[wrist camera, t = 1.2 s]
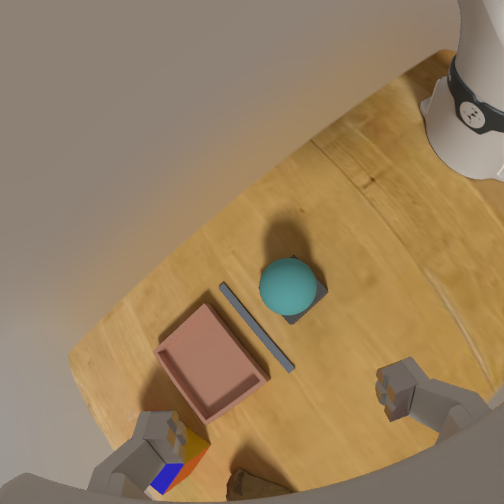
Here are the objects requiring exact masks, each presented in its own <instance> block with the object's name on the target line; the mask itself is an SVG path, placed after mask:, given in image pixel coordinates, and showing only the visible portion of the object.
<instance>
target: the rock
mask: <svg viewBox="0 0 504 504" xmlns="http://www.w3.org/2000/svg"><path fill="white" fill-rule="evenodd" d="M286 494H292V492H290V491H289V490H287V488H284V487H281V486H279V485H277V484H275V483H272V482H269V481H265V480H262V479H261V478H258V477H254V476H251V475H250V474H248V473H246V472H245V471H244V470H241V469H237V470H236V471H235V472H234V473H233V474H232V475H231V476H230V478H229V481H228V483H227V495H226V499H227V501H240V500H250V499H259V498H267V497H274V496H280V495H286Z"/></svg>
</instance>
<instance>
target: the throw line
mask: <svg viewBox="0 0 504 504" xmlns="http://www.w3.org/2000/svg"><path fill="white" fill-rule="evenodd" d="M219 289H220V290H221V292H222V293H223V294H224V296H225V297H226V298H227V299H228V301H229V302H230V303H231V304H232V306H233V307H234V308H235V309H236V311H237V312H238V313H239V314H240V315H241V317H242V318H243V319H244V320H245V322H246V323H247V324H248V325H249V326H250V328H251V329H252V330H253V331H254V333H255V334H256V335H257V336H258V337H259V339H260V340H261V341H262V342H263V343H264V345H265V346H266V347H267V348H268V349H269V351H270V352H271V353H272V354H273V355H274V356H275V358H276V359H277V360H278V361H279V362H280V363H281V365H282V366H283V367H284V368H285V369H286V370H287V372H288V373H290V372H291V371H292V370H294V369H295V367H294V366H293V365H292V364H291V363H290V361H289V360H288V359H287V358H286V357H285V356H284V354H283V353H282V352H281V351H280V350H279V349H278V347H277V346H276V345H275V344H274V343H273V342H272V340H271V339H270V338H269V337H268V336H267V334H266V333H265V332H264V331H263V330H262V328H261V327H260V326H259V325H258V324H257V323H256V321H255V320H254V319H253V318H252V316H251V315H250V314H249V313H248V312H247V310H246V309H245V308H244V307H243V306H242V304H241V303H240V302H239V301H238V299H237V298H236V297H235V296H234V295H233V293H232V292H231V291H230V290H229V288H228V287H227V286H226V285H225V283H223V284H222V285H221V286H220V287H219Z"/></svg>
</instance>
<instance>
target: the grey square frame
mask: <svg viewBox="0 0 504 504" xmlns="http://www.w3.org/2000/svg"><path fill="white" fill-rule="evenodd" d="M291 258H294V259H298V258H297V257H296V256H295V255H293V256H292V257H291ZM298 260H299V259H298ZM315 278H316V277H315ZM316 282H317V291H316V295H315V298H314V300H313V302H312V303H311V304H310V306H309V307H308V308H307V309H305V310H304V311H302V312H300V313H298V314H295V315H282V316H283V317H284V318H285V320H286V321H287V322H288V323H289V324H294V323H295V322H297V321H298V320H299V319H300V318H301V317H302V316H303V315H304V314H305V313H307V312H308V311H309V310H310V309H311V308H312V307H313V306H314V305H315V304H316V303H317V302H318V301H320V300H321V299H322V298H323V297H324V296H325V295H326V294H327V293H328V290H327V289H326V288H325V287H324V286H323V285H322V284H321V283H320V282H319V281H318V280H317V278H316Z"/></svg>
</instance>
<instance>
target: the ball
mask: <svg viewBox="0 0 504 504" xmlns="http://www.w3.org/2000/svg"><path fill="white" fill-rule="evenodd" d="M259 290H260V295H261V298H262V300H263V302H264V303H265V305H266V306H267V307H268V308H269V309H271V310H272V311H274V312H275V313H278V314H281V315H295V314H298V313H300V312H302V311H304V310H305V309H307V308H308V307H309V306H310V304H311V303H312V302H313V300H314V298H315V295H316V291H317V282H316V278H315V275H314V273H313V271H312V270H311V268H310V267H309V266H308V265H307V264H305V263H304V262H302V261H300V260H298V259H294V258H282V259H279V260H276V261H274V262H273V263H271V264H270V265H269V266H268V267H267V268H266V269H265V270H264V272H263V274H262V276H261V279H260V284H259Z"/></svg>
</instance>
